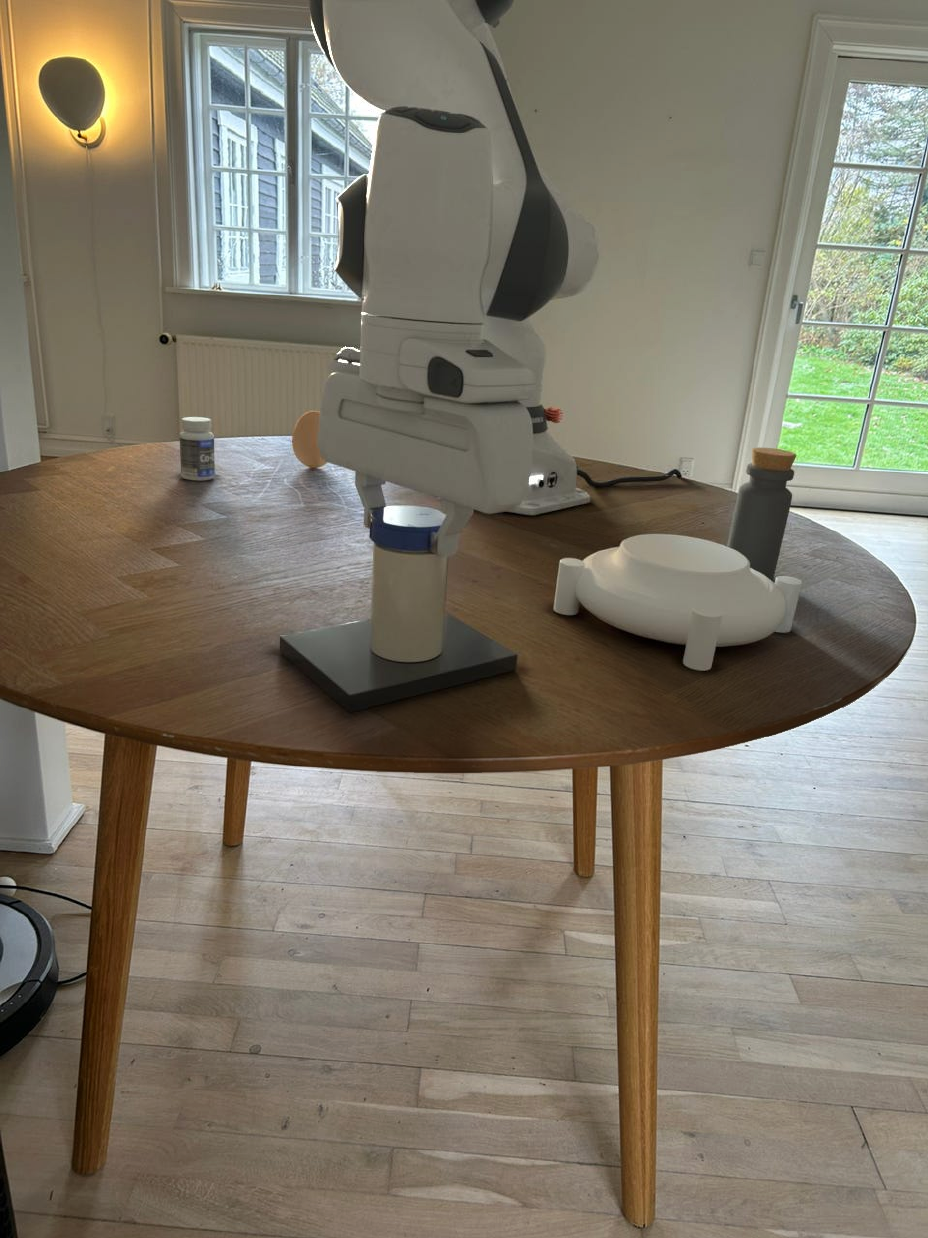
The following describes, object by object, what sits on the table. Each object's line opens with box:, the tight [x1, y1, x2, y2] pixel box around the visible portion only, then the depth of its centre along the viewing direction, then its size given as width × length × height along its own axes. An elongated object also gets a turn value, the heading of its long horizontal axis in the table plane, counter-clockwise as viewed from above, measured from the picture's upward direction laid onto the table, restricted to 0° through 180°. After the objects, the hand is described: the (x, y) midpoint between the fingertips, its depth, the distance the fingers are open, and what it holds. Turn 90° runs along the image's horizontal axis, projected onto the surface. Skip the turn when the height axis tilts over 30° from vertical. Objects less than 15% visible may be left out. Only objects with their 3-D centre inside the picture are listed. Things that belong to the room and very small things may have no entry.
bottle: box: [726, 447, 797, 582], centre depth 97 cm, size 6×6×15 cm
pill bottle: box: [179, 416, 216, 482], centre depth 122 cm, size 5×5×8 cm
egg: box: [291, 410, 328, 469], centre depth 134 cm, size 7×7×9 cm
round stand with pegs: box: [553, 533, 803, 672], centre depth 84 cm, size 24×24×7 cm
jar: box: [370, 541, 449, 662], centre depth 69 cm, size 6×6×11 cm
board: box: [279, 610, 518, 714], centre depth 71 cm, size 16×12×2 cm
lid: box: [368, 505, 446, 551], centre depth 67 cm, size 6×6×2 cm
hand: (409, 541), depth 67 cm, fingers closed on lid, 6 cm apart
